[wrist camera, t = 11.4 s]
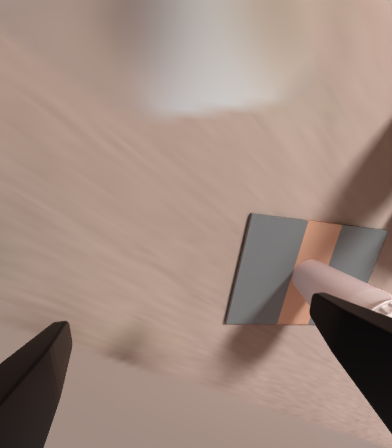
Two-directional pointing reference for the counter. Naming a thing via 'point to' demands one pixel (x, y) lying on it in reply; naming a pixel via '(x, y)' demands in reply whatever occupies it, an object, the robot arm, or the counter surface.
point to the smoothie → (339, 286)
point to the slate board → (294, 265)
